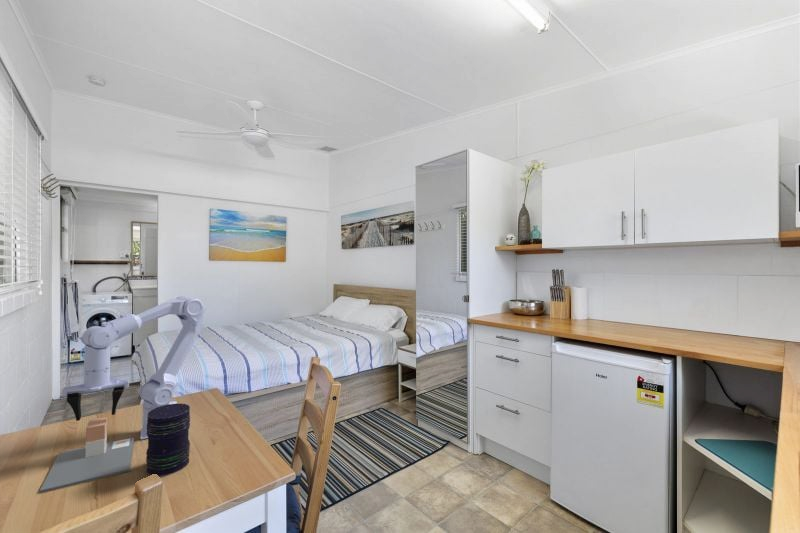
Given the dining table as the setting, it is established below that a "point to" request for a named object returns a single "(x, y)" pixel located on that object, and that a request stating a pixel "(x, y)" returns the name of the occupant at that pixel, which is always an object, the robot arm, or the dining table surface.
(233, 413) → the dining table surface
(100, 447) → the off-white brick
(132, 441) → the baseplate
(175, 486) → the dining table surface
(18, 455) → the dining table surface
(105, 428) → the terracotta brick
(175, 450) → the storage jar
